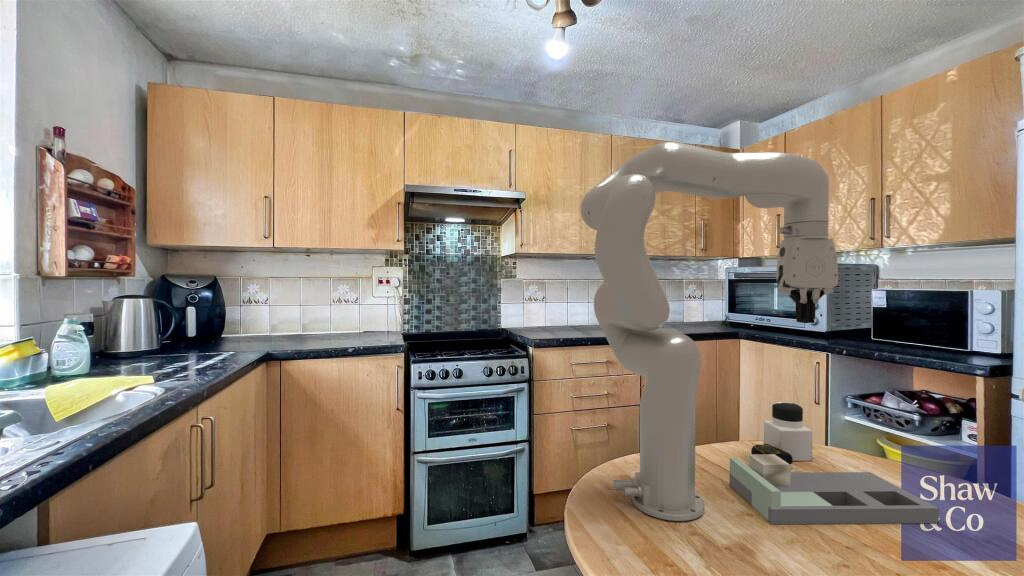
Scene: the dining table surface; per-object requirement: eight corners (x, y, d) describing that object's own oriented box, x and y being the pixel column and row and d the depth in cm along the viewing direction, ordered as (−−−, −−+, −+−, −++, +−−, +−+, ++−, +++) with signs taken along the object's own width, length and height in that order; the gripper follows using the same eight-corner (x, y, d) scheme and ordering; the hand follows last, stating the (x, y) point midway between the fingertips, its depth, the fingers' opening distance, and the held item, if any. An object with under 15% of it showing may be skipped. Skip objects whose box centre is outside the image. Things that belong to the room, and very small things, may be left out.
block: (763, 486, 81) (763, 464, 81) (748, 474, 86) (748, 454, 86) (790, 486, 81) (790, 464, 81) (774, 474, 86) (774, 454, 86)
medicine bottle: (812, 461, 99) (813, 408, 98) (780, 461, 99) (781, 408, 98) (792, 449, 106) (793, 399, 106) (763, 449, 106) (763, 399, 106)
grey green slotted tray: (771, 524, 73) (771, 491, 73) (729, 485, 87) (729, 457, 87) (938, 523, 73) (939, 490, 73) (869, 484, 87) (869, 457, 87)
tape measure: (794, 469, 95) (794, 452, 95) (770, 473, 93) (770, 456, 93) (767, 457, 101) (767, 441, 101) (743, 461, 99) (744, 444, 99)
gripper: (780, 230, 86) (780, 324, 86) (856, 230, 86) (856, 324, 86) (758, 235, 93) (758, 321, 93) (828, 234, 93) (828, 320, 94)
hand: (805, 322), depth 90 cm, fingers closed
